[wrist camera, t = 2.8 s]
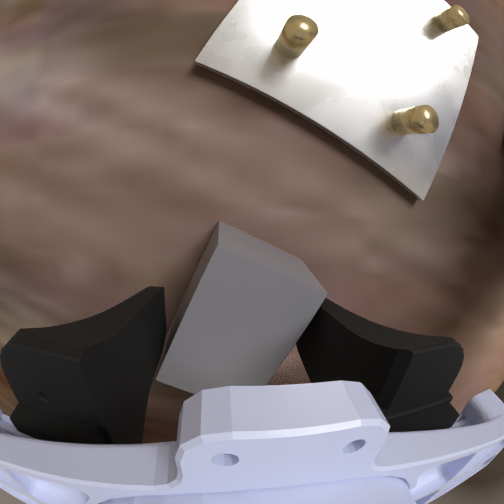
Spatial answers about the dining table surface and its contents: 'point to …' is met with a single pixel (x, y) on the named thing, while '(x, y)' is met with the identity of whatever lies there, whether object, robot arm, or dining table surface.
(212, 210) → the dining table surface
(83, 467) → the robot arm
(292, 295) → the plain grey block
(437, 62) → the plate with brass knobs
